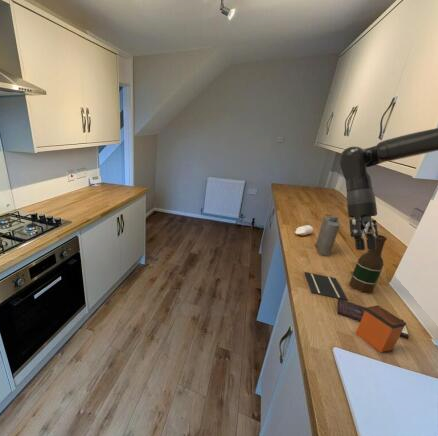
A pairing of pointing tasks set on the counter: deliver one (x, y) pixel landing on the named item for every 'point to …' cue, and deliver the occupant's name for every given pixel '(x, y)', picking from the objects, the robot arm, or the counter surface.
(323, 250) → the flask
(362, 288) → the beer bottle
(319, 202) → the counter surface
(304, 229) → the roll
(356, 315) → the chocolate bar
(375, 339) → the box
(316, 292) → the mat
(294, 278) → the counter surface
